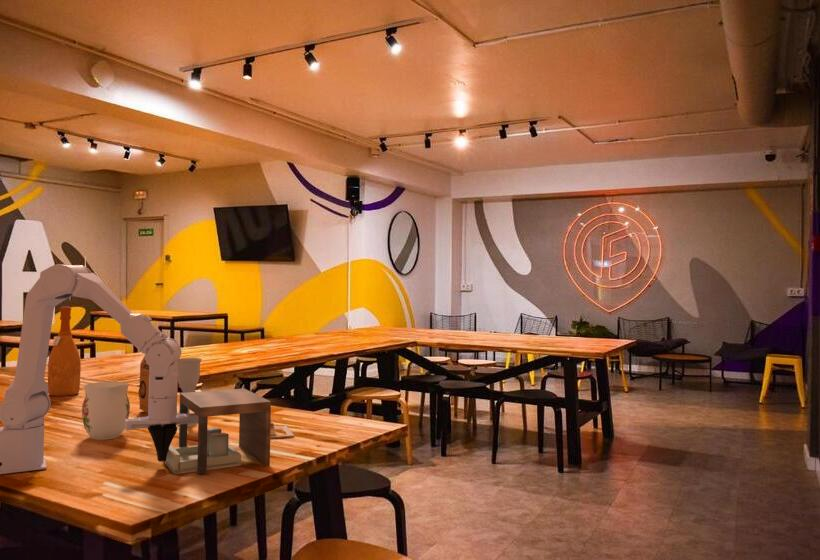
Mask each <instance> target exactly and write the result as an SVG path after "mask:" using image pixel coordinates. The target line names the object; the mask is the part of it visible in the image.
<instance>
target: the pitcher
mask: <svg viewBox="0 0 820 560" xmlns="http://www.w3.org/2000/svg"><path fill="white" fill-rule="evenodd" d="M83 389H84V395H85V396H84V400H83V402H82V407H81V418H82V424H83V426H84V430H85V432H86V433H87V435H88V436H89V437H90V439H92V440H95V441H104V440H105V441H107V440H114V439H117V438H119V437H120V436H121V435H122V434H123V432H124V431H125V430H126V429H125V419H130V418H129V417H130V413H131V412H130V411H131V410H130V409H131V408H130V406H131V405H130V397H129V395H128V390H129V382H125V381H100V382H99V381H97V382H92V383H91V382H90V383H86V384H84V385H83Z"/></svg>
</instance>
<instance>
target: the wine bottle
mask: <svg viewBox="0 0 820 560" xmlns="http://www.w3.org/2000/svg"><path fill="white" fill-rule="evenodd" d="M59 309H60V310H59V312H60V316H59V320H60V328H59V332H58V335H55V336H54V339H53V341H52V346H53V347H52V349H51V351H50V354H49V356H48V360H47V361H48V362H47V385H48V395H49V396H53V397H67V396H68V397H69V396H75V395H77V394H78V393H79V392H80V390H81V388H80V387H81V371H82V370H81V369H82V368H81V367H82V365H81V361H82V360H81V356H80V352H79V350H78V347H77V345H76V343H75V340H74V339H73V336H72V331H71V319H72V316H71V314H72V308H71V306H68V305H64V306H60V308H59Z"/></svg>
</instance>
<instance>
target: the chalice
mask: <svg viewBox="0 0 820 560" xmlns="http://www.w3.org/2000/svg"><path fill="white" fill-rule="evenodd" d="M201 362H202V358H200V357H198V358H197V357H184V358H179V360H178V361H177V362H176V363H177V374H178V382H177V383H178V386H179V387H180V389H181V392H182V393H187V392H195V389H196V387H197V385H198V383H199V379H200V377H201V376H200V375H201ZM190 411H191V410H190V409H189V408H188V414H191V413H190ZM177 426H178V427H179V425H177ZM196 426H198V424H193V423H190V424H187V428H191V427H196Z"/></svg>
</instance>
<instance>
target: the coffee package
mask: <svg viewBox="0 0 820 560" xmlns="http://www.w3.org/2000/svg"><path fill="white" fill-rule="evenodd" d="M172 365H173V364H172ZM139 368H140V369H139V389H138V390H137V391H138V393H137V394H138V399H139V410H141V411H143V412H144V413H146V414H147V415H148V398H149V365H148V364H147V362H146V360H145V355H144V356H143V358H142V359H141V360H140V365H139Z"/></svg>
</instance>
